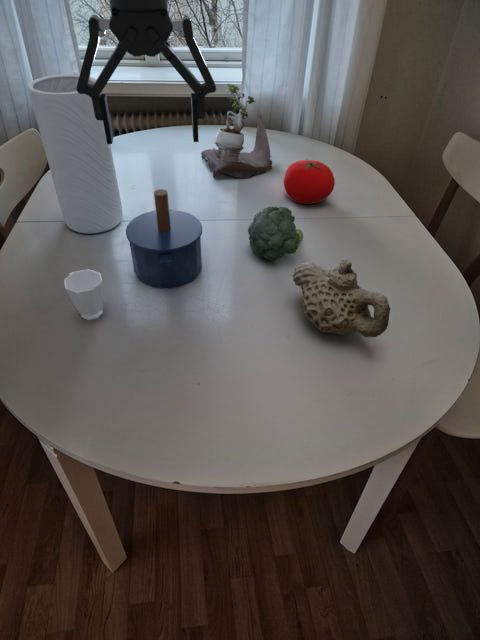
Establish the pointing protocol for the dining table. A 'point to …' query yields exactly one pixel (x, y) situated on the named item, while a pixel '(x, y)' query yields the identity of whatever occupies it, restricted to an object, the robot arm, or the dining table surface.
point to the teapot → (340, 300)
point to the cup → (86, 292)
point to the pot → (167, 266)
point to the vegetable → (274, 233)
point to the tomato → (308, 181)
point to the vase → (77, 154)
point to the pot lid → (163, 227)
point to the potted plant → (239, 145)
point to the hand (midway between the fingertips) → (153, 140)
